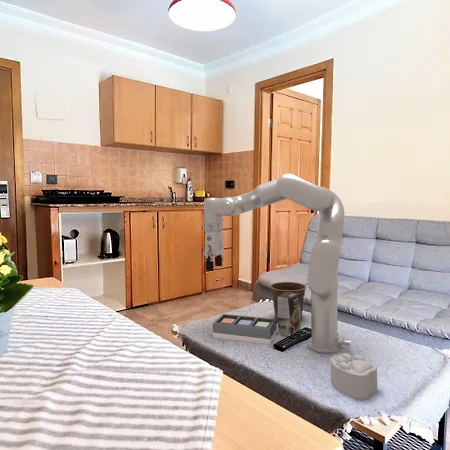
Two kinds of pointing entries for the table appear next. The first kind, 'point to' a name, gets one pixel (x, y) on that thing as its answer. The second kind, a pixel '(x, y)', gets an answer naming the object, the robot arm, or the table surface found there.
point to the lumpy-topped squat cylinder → (353, 376)
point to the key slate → (244, 323)
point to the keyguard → (245, 330)
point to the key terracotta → (227, 321)
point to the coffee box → (289, 313)
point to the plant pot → (283, 288)
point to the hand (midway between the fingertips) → (214, 268)
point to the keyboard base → (245, 338)
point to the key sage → (262, 324)
